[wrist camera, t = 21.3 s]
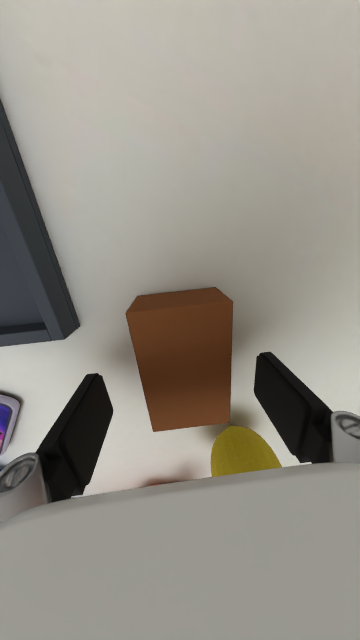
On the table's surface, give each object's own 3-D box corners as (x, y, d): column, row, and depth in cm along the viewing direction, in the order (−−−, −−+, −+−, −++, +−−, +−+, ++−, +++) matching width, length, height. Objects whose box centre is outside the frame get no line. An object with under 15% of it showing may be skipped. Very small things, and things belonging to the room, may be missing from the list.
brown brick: (156, 393, 15) (152, 432, 12) (137, 295, 12) (124, 312, 9) (217, 386, 15) (230, 423, 12) (215, 286, 12) (233, 300, 9)
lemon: (221, 400, 16) (265, 529, 9) (267, 415, 17) (342, 540, 10) (193, 436, 18) (211, 570, 10) (237, 448, 19) (281, 576, 12)
